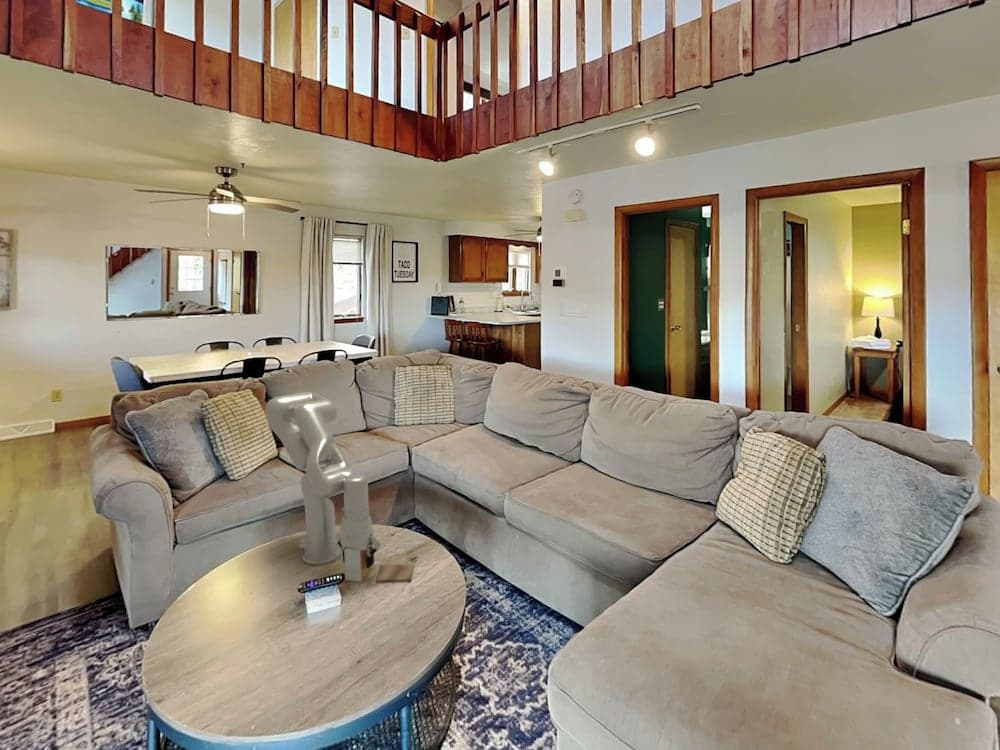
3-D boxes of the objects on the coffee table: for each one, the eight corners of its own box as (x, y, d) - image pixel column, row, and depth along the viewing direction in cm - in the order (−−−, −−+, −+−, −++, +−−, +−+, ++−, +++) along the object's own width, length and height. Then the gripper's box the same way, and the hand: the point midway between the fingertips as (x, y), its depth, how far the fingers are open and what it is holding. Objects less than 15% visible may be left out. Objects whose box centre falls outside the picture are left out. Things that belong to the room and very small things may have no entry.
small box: (361, 582, 168) (360, 551, 166) (344, 580, 169) (343, 549, 167) (372, 569, 176) (371, 540, 174) (356, 567, 177) (355, 538, 175)
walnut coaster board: (375, 582, 168) (375, 579, 168) (380, 567, 177) (380, 565, 177) (410, 582, 169) (410, 579, 168) (413, 567, 177) (413, 564, 177)
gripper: (326, 513, 168) (328, 563, 171) (373, 521, 162) (374, 574, 165) (341, 504, 175) (343, 553, 178) (386, 512, 169) (387, 562, 172)
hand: (358, 563), depth 171 cm, fingers open, 8 cm apart
